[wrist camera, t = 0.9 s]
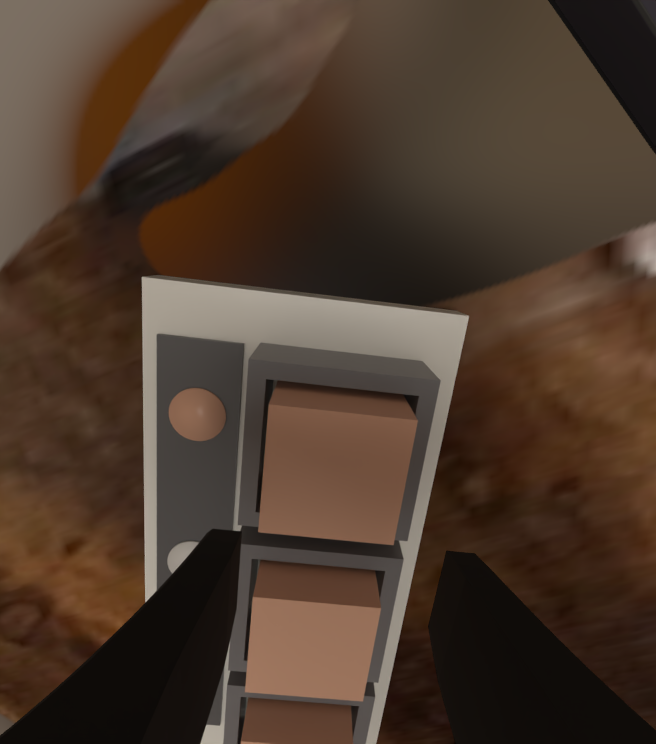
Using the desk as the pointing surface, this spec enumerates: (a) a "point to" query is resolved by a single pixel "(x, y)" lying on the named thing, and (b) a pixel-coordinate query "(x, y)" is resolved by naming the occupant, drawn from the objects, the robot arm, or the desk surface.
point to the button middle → (312, 630)
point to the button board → (248, 437)
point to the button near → (335, 462)
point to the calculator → (619, 51)
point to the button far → (296, 722)
